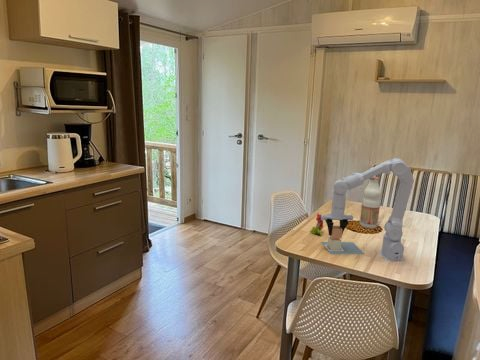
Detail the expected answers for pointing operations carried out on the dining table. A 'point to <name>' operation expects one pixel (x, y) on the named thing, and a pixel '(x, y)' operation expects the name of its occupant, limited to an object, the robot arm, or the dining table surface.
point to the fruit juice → (371, 204)
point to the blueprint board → (344, 248)
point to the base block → (334, 243)
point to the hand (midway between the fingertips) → (335, 234)
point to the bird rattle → (317, 226)
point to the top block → (336, 232)
